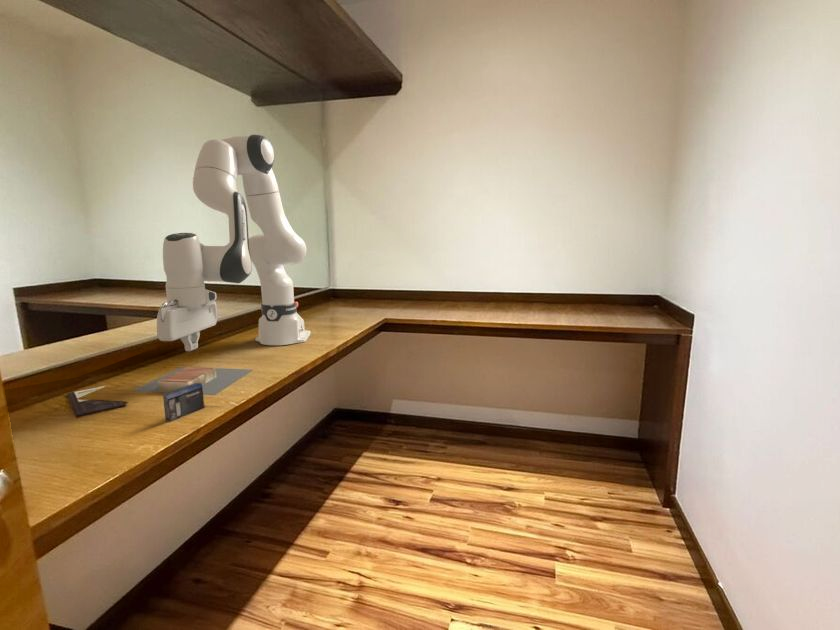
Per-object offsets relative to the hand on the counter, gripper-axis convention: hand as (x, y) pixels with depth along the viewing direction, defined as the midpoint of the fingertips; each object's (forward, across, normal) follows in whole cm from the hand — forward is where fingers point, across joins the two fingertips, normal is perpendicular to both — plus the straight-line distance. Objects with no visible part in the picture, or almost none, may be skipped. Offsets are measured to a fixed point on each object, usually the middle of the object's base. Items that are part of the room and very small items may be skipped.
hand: (191, 349), depth 113 cm
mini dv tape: (+10, -19, -10) cm, 23 cm away
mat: (+9, +1, 0) cm, 9 cm away
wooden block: (+7, +4, 0) cm, 8 cm away
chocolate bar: (+10, -14, +16) cm, 23 cm away
